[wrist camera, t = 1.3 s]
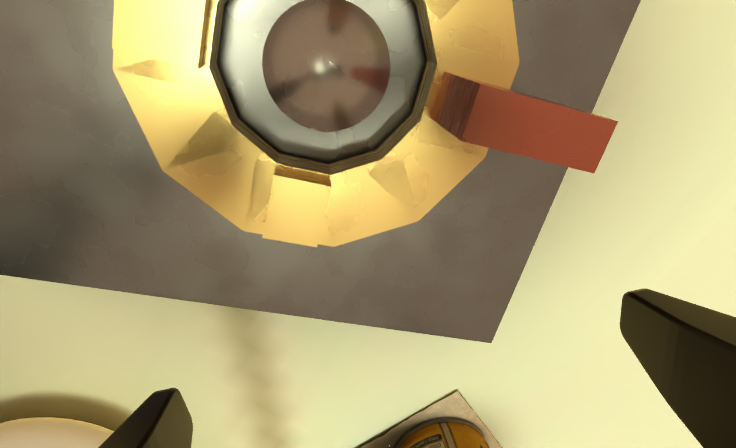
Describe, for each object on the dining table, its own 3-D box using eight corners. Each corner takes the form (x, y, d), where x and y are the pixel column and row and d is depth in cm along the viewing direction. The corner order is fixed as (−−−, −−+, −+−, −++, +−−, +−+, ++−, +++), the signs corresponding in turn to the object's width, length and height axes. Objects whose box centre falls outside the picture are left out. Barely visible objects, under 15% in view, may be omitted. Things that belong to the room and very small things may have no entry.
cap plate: (15, 256, 19) (-51, 309, 16) (-10, -502, 12) (-155, -744, 8) (480, 324, 24) (511, 378, 21) (690, -178, 16) (802, -236, 13)
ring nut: (120, 193, 17) (56, 253, 13) (146, -238, 12) (58, -384, 8) (476, 258, 20) (524, 324, 16) (602, -66, 16) (720, -102, 11)
